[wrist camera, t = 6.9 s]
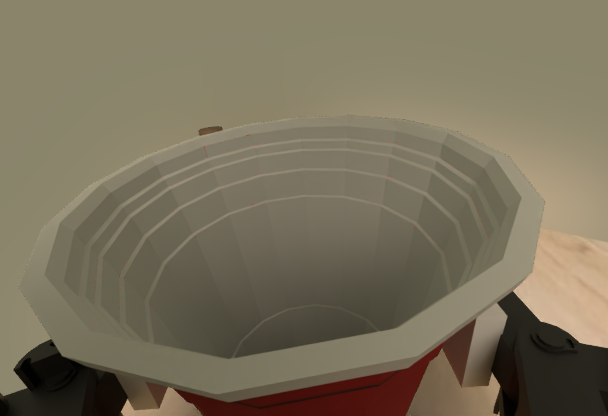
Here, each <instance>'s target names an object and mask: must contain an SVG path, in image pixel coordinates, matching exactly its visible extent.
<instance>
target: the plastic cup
mask: <svg viewBox="0 0 608 416" xmlns="http://www.w3.org/2000/svg"><path fill="white" fill-rule="evenodd" d="M544 205H545V201H544V199H543V198H542V197H541V196H540V194H539V193H538V192H537V191H536V189H535V188H534V187H533V186H532V184H531V183H530V182H529V181H528V179H527V178H526V177H525V176H524V174H523V173H522V172H521V171H520V169H519V168H518V167H517V165H516V164H515V163H514V162H513V160H512V159H511V158H510V157H509V156H507V155H505V154H503V153H501V152H499V151H497V150H495V149H493V148H491V147H488V146H487V145H485V144H483V143H480V142H478V141H476V140H474V139H472V138H470V137H468V136H466V135H464V134H462V133H460V132H458V131H453V130H449V129H444V128H440V127H436V126H431V125H427V124H423V123H418V122H414V121H410V120H405V119H393V118H381V117H367V116H355V115H346V116H319V117H298V118H291V119H283V120H276V121H268V122H261V123H254V124H247V125H243V126H239V127H235V128H231V129H227V130H223V131H219V132H214V133H210V134H206V135H202V136H198V137H195V138H192V139H190V140H186V141H184V142H181V143H178V144H176V145H173V146H170V147H167V148H165V149H162V150H159V151H156V152H154V153H151V154H148V155H145V156H143V157H141V158H140V159H137V160H136V161H134V162H132V163H130V164H128V165H127V166H125V167H123V168H121V169H119V170H117V171H115V172H114V173H112V174H110V175H108V176H106V177H104V178H102V179H101V180H99V181H97V182H95V183H93V184H91V185H90V186H88V187H87V188H86V189H85V190H84V191H83V192H82V193H81V194H79V195H78V196H77V197H76V198H75V199H74V200H73V201H72V202H70V203H69V204H68V205H67V206H66V207H65V208H64V209H63V210H62V211H61V212H59V213H58V214H57V215H56V216H55V217H54V218H53V219H51V220H50V221H49V222H48V223H47V224H46V225H45V226H44V227H42V229H41V232H40V234H39V237H38V240H37V242H36V245H35V247H34V250H33V252H32V255H31V257H30V260H29V262H28V265H27V267H26V270H25V273H24V275H23V278H22V280H21V283H20V285H19V289H20V290H21V292H22V293H23V295H24V297H25V298H26V300H27V301H28V303H29V304H30V306H31V308H32V309H33V311H34V312H35V314H36V315H37V317H38V319H39V320H40V321H41V323H42V325H43V326H44V328H45V330H46V331H47V333H48V334H49V336H50V338H51V339H52V341H53V342H54V344H55V345H56V347H57V349H58V350H59V352H60V353H61V355H62V356H63V357H66V358H68V359H70V360H73V361H75V362H78V363H80V364H82V365H85V366H87V367H91V368H95V369H99V370H103V371H107V372H111V373H115V374H119V375H122V376H126V377H130V378H134V379H138V380H142V381H146V382H150V383H154V384H158V385H162V386H166V387H170V388H173V389H174V390H175V391H176V392H177V393H178V394H179V395H180V396H181V397H183V398H184V399H185V400H186V401H187V402H189V403H193V404H194V406H195V407H196V408H197V409H198V410H199V411H200V412H201V413H202V415H203V416H405V415H406V413H407V411H408V409H409V406H410V404H411V402H412V400H413V397H414V395H415V393H416V391H417V388H418V386H419V384H420V382H421V380H422V377H423V375H424V373H425V371H426V368H427V366H428V364H429V362H430V361H431V360H432V359H434V358H435V357H436V356H438V354H439V352H440V350H441V348H442V346H443V344H444V342H445V340H447V339H448V338H449V337H451V336H452V335H454V334H455V333H456V332H458V331H459V330H460V329H462V328H463V327H464V326H466V325H467V324H468V323H470V322H471V321H473V320H474V319H475V318H477V317H478V316H479V315H481V314H482V313H483V312H485V311H486V310H487V309H489V308H490V307H492V306H493V305H494V304H496V303H497V302H498V301H500V300H501V299H502V298H504V297H505V296H507V295H508V294H509V293H511V292H512V291H513V290H514V289H515V288H517V287H518V286H519V285H520V284H521V283H522V282H523V281H524V280H525V279H526V278H527V277H528V276H529V275H530V274H531V273H532V269H533V264H534V259H535V253H536V248H537V242H538V237H539V232H540V226H541V221H542V215H543V210H544Z"/></svg>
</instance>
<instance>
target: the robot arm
mask: <svg viewBox="0 0 608 416" xmlns="http://www.w3.org/2000/svg"><path fill="white" fill-rule="evenodd" d="M442 348H443V351H444V353H445V355H446V357H447V359H448V361H449V363H450V365H451V367H452V369H453V371H454V373H455V375H456V377H457V379H458V381H459V383H460V385H461V387H475V386H488V385H489V381H490V378H491V374H492V373H493V375H494V376H495V378H496V379H497V381H498V383H499V384H500V390H499V393H498V396H497V399H496V403H495V406H494V411H493V413H495V414H498V412H500V416H608V348H604V347H598V346H592V345H586V344H582V343H579V342H578V341H577V340H576V339H575V338H574V337H572V336H571V335H570V334H569V333H568V332H566V331H564V330H562V329H560V328H559V327H557V326H554V325H551V324H548V323H545V322H540V320H539V319H538V318H537V317H536V316H535V315H534V314H533V313H532V312H531V311H530V310H529V308H528V307H527V306H526V305H525V304H524V303H523V302H522V301H521V300H520V299H519V298H518V296H517V295H516V294H515V293H514V292H513V291H512V292H511V293H509V294H508V295H507V296H505V297H504V298H502V299H501V300H500V301H498V302H497V303H496V304H494V305H493V306H492V307H490V308H489V309H487V310H486V311H485V312H483V313H482V314H481V315H479V316H478V317H477V318H475V319H474V320H473V321H471V322H470V323H468V324H467V325H466V326H464V327H463V328H462V329H460V330H459V331H458V332H456V333H455V334H454V335H452V336H451V337H449V338H448V339H447V340H445V342H444V344H443V346H442ZM14 371H15V373H16V374H17V375H18V376H19V378H20V379H21V380H22V381H23V382H24V384H25V385H26V386H27V389H24V390H20V391H18V392H15V393H12V394H9V395H6V396H2V394H1V393H0V416H123V414H122V413H121V410H122V408H123V407H124V405H125V403H126V401H127V399H128V400H129V402H130V404H131V405H132V407H133V409H134V410H145V409H159V408H160V405H161V403H162V400H163V398H164V395H165V393H166V390H167V388H168V387H166V386H162V385H158V384H154V383H150V382H146V381H142V380H138V379H134V378H130V377H126V376H122V375H119V374H115V373H111V372H107V371H103V370H99V369H95V368H91V367H87V366H85V365H82V364H80V363H78V362H75V361H73V360H70V359H68V358H66V357H63V356H62V355H61V353H60V352H59V350H58V349H57V347H56V345H55V344H54V342H53V341H52V339H50V340H48V341H46V342H44V343H42V344H40V345H38V346H37V347H36V348H34V349H33V350H31V351H30V352H28V353H27V354H26V355H25V356H24V357H23V358H22V359H21V360H20V361H19V362H18V364H17V365H16V367H15V368H14Z"/></svg>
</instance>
